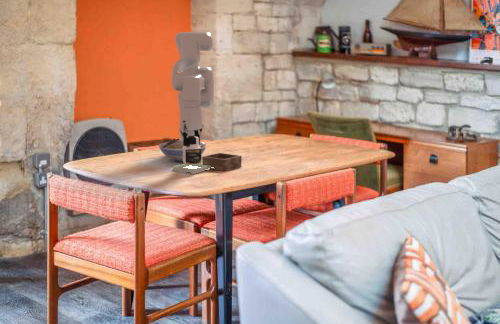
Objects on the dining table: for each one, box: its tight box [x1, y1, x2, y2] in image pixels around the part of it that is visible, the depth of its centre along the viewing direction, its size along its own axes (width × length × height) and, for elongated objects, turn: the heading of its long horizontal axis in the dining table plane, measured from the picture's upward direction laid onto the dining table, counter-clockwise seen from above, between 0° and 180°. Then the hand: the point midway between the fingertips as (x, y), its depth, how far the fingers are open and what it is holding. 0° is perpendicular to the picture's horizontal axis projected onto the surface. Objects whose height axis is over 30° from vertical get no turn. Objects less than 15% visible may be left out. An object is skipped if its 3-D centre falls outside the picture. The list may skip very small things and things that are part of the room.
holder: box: [202, 152, 243, 172], centre depth 343 cm, size 13×13×5 cm
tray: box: [171, 163, 211, 175], centre depth 336 cm, size 12×12×2 cm
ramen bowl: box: [158, 138, 208, 162], centre depth 358 cm, size 25×23×8 cm
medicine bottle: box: [182, 136, 202, 165], centre depth 334 cm, size 7×7×12 cm
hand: (191, 144), depth 334 cm, fingers closed on medicine bottle, 6 cm apart
